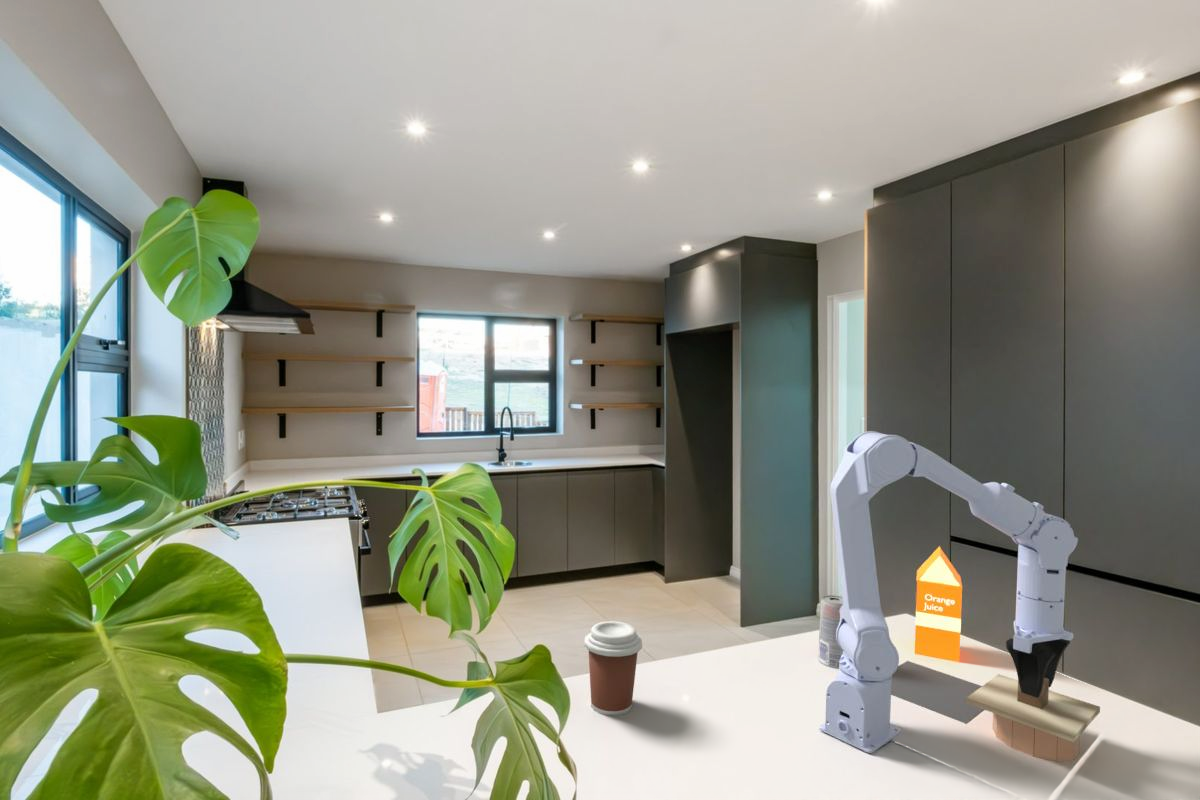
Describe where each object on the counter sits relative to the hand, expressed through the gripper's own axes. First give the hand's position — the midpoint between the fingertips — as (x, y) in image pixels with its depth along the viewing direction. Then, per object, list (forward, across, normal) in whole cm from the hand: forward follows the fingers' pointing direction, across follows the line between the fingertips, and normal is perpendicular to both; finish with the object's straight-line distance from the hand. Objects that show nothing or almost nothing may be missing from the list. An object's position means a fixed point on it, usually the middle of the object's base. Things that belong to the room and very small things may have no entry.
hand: (1036, 689), depth 92 cm
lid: (+3, 0, 0) cm, 3 cm away
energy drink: (+8, +1, +32) cm, 33 cm away
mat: (+8, +5, +16) cm, 18 cm away
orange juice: (+8, +23, +23) cm, 33 cm away
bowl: (+8, 0, 0) cm, 8 cm away
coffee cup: (+8, -42, +45) cm, 62 cm away
